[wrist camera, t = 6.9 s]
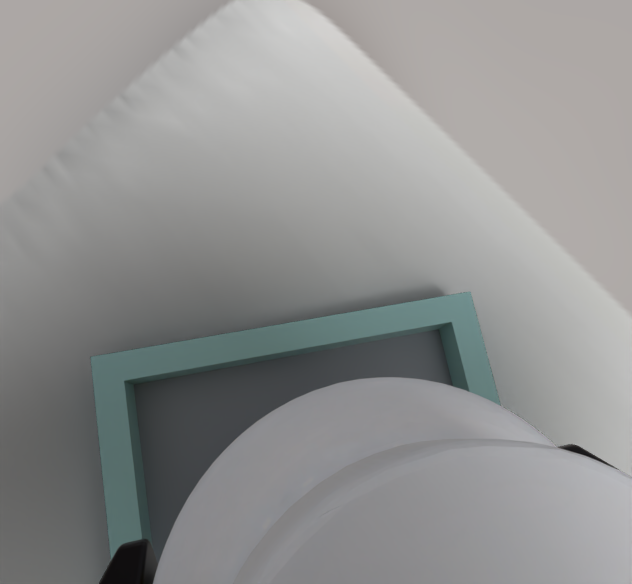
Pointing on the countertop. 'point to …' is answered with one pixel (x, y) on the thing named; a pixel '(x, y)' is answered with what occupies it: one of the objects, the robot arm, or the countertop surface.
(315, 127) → the countertop surface
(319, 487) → the pill bottle
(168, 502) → the dock
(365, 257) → the countertop surface
